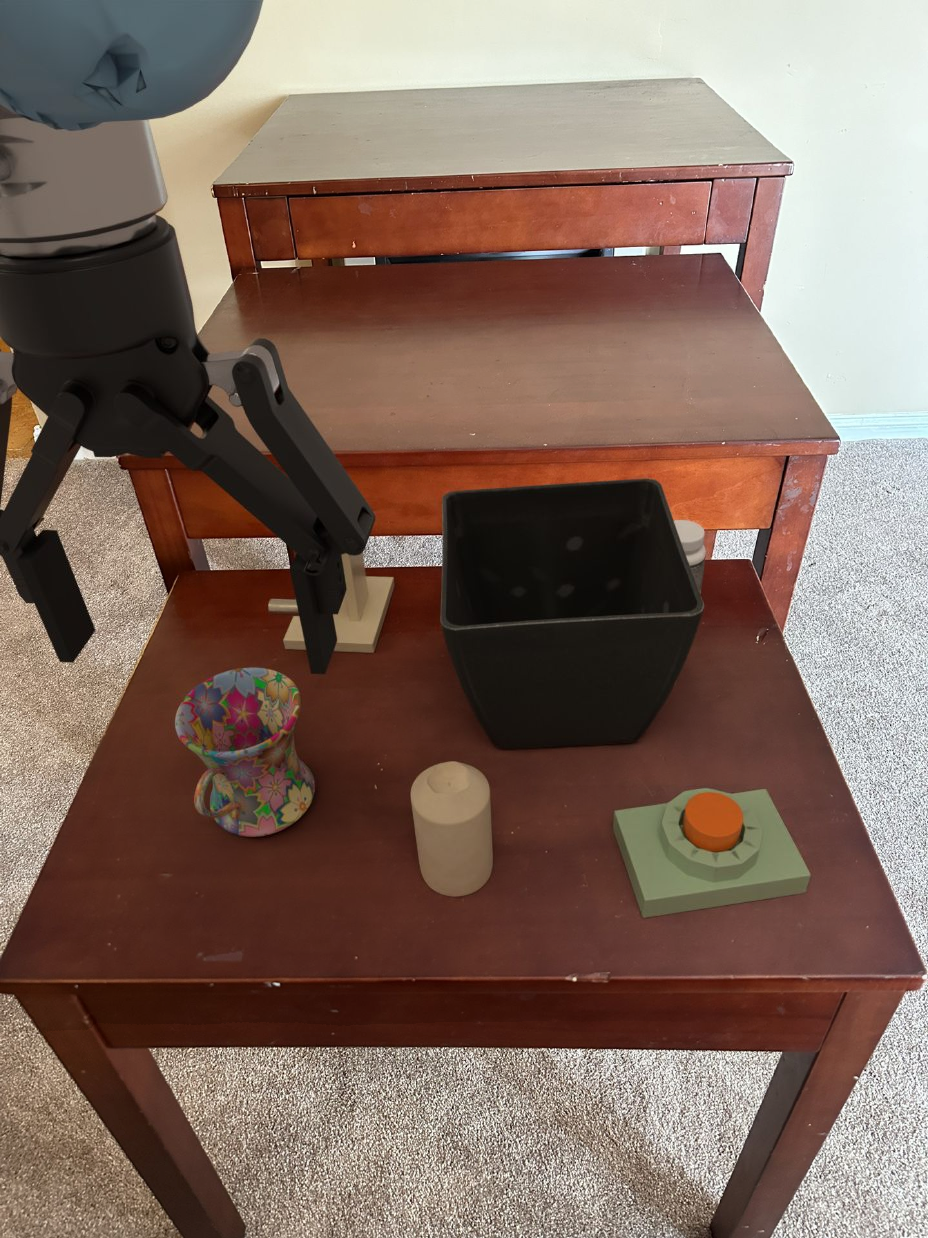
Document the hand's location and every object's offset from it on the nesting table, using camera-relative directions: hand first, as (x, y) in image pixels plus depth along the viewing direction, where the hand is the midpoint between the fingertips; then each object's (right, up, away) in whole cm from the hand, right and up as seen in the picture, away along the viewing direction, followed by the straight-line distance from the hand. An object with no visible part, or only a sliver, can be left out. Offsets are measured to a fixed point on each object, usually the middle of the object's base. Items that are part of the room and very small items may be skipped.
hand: (199, 651), depth 47 cm
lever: (0, +7, +35) cm, 36 cm away
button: (+32, -13, +17) cm, 39 cm away
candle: (+13, -17, +20) cm, 30 cm away
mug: (-3, -14, +25) cm, 29 cm away
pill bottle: (+36, +4, +44) cm, 57 cm away
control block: (+32, -16, +20) cm, 41 cm away
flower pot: (+22, -6, +34) cm, 41 cm away
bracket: (+1, +2, +45) cm, 45 cm away
